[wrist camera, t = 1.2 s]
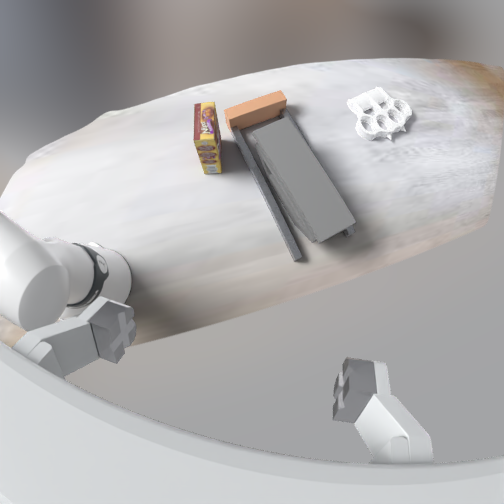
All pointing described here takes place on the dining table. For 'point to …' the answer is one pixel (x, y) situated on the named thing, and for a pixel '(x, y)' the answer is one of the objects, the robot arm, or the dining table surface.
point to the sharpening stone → (301, 182)
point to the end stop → (255, 110)
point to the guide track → (267, 193)
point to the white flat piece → (379, 113)
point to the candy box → (207, 137)
